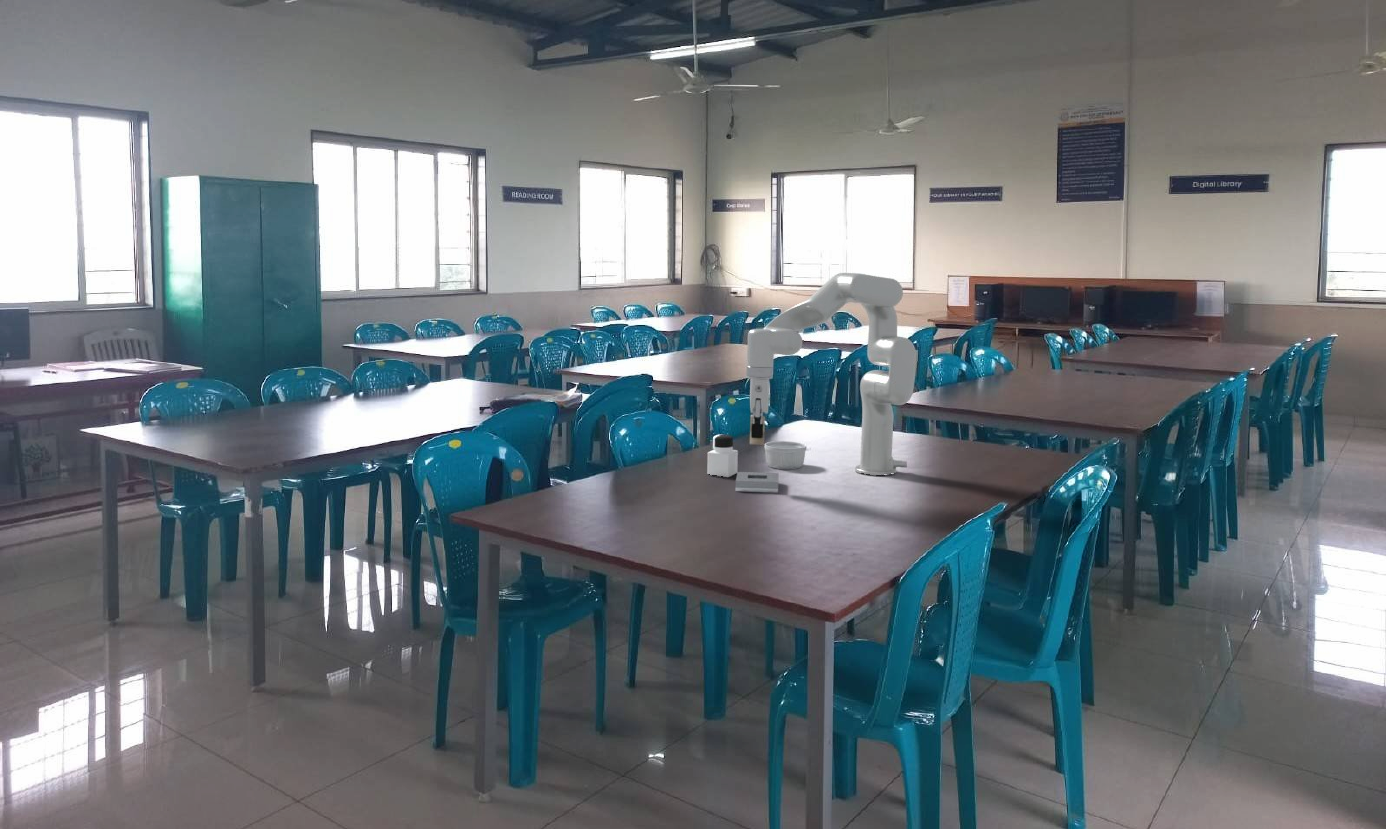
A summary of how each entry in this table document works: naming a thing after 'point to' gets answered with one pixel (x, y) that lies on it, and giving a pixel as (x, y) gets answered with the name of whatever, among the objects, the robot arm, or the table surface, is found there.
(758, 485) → the plate
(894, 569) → the table surface
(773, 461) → the ramekin
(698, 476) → the table surface
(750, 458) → the table surface
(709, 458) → the medicine bottle
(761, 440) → the beige upright block
